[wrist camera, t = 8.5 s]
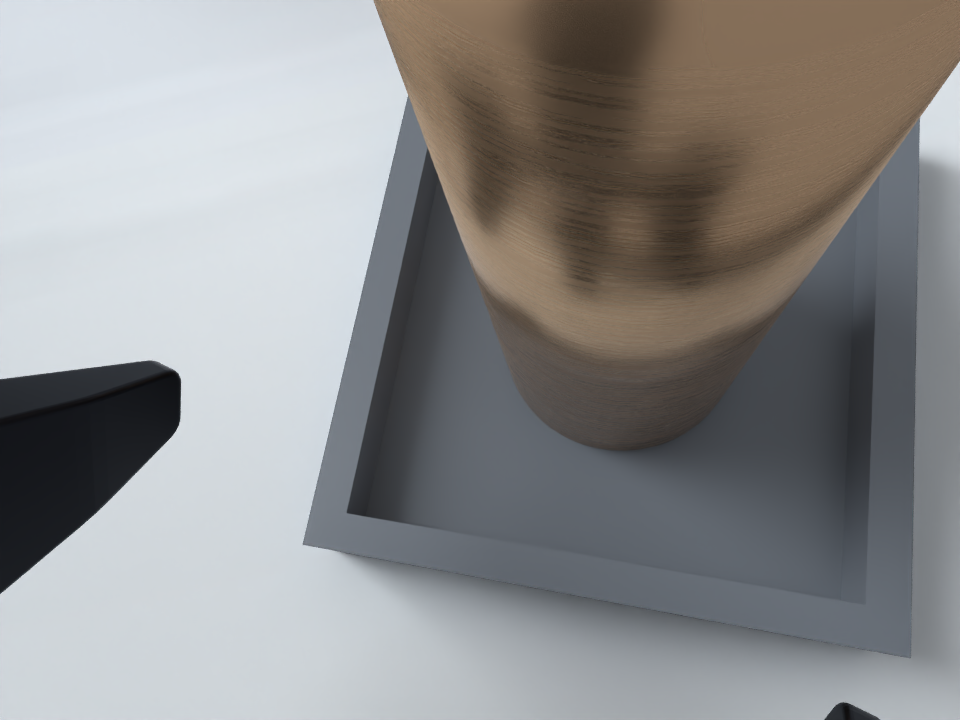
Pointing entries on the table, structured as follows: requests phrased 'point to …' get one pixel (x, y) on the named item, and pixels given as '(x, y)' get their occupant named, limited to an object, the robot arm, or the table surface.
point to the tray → (647, 472)
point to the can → (656, 176)
